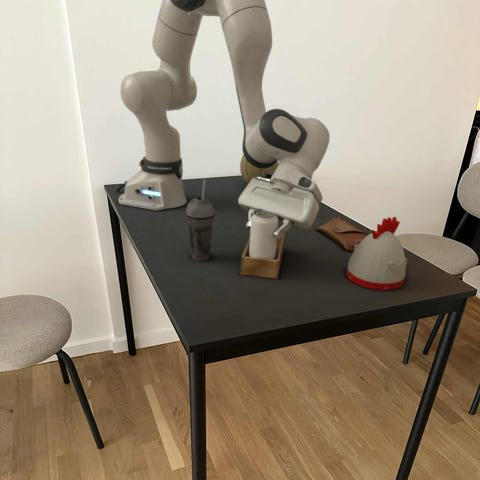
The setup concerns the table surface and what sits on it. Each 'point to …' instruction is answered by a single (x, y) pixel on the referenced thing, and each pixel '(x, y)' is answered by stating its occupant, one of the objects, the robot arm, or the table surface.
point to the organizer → (262, 262)
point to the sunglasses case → (342, 233)
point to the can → (263, 235)
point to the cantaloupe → (253, 170)
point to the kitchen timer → (379, 259)
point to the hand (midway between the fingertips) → (262, 232)
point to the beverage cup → (200, 226)
